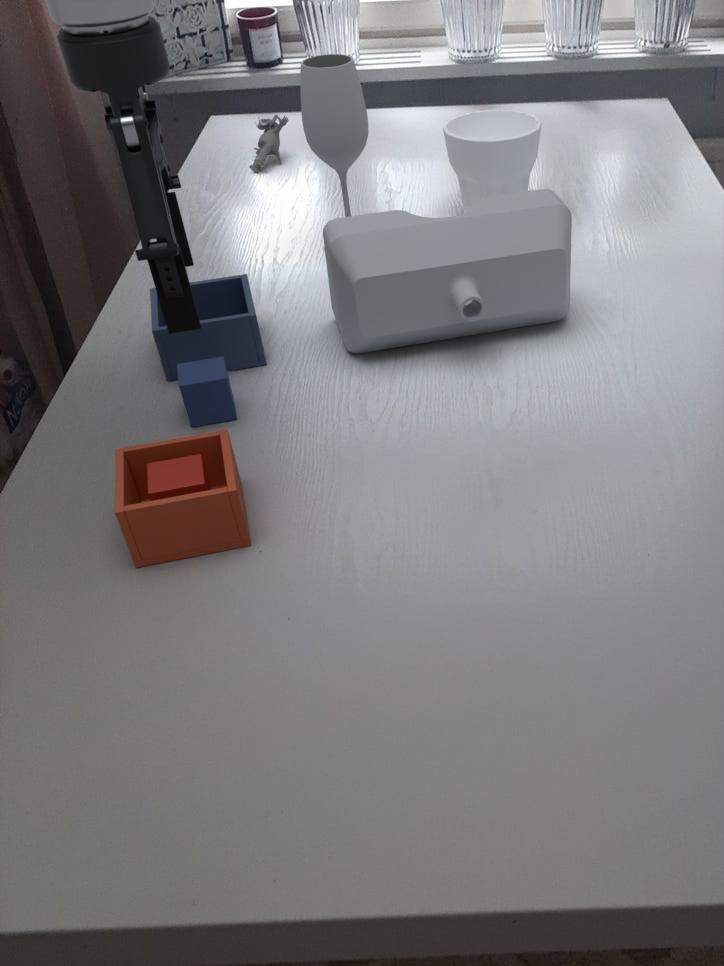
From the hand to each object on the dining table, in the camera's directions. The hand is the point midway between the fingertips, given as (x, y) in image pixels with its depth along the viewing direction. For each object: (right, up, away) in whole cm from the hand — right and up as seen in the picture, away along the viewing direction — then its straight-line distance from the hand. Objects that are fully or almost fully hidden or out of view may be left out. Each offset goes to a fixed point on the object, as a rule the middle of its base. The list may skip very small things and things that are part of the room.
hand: (182, 296), depth 87 cm
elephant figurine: (-5, +42, +61) cm, 74 cm away
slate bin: (-2, +1, +18) cm, 18 cm away
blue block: (0, -8, +9) cm, 12 cm away
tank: (+24, +3, +19) cm, 31 cm away
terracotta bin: (+2, -21, -4) cm, 21 cm away
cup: (+29, +26, +43) cm, 58 cm away
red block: (+2, -20, -4) cm, 21 cm away
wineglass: (+10, +19, +37) cm, 43 cm away
